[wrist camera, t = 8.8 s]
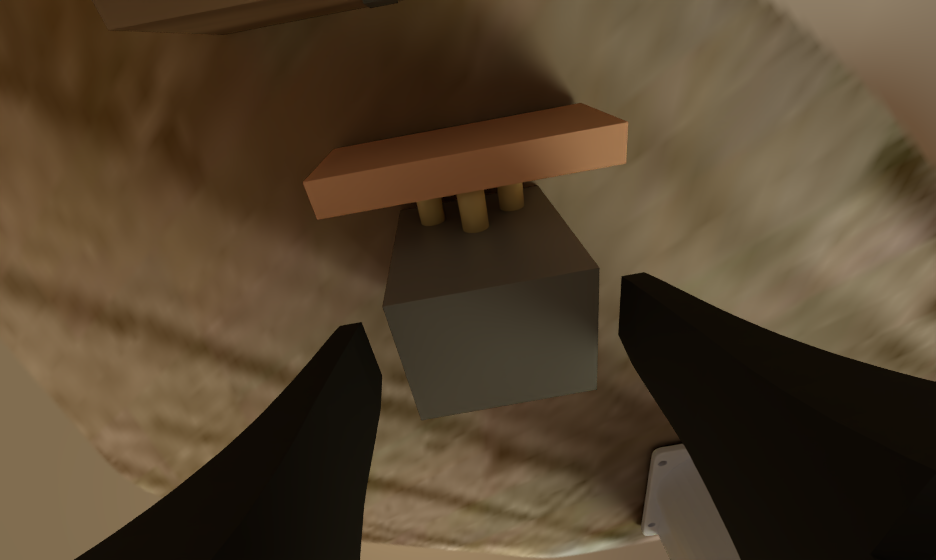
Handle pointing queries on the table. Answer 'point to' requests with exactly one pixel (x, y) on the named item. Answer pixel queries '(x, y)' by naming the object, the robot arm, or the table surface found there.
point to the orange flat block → (466, 159)
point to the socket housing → (217, 13)
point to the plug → (491, 302)
